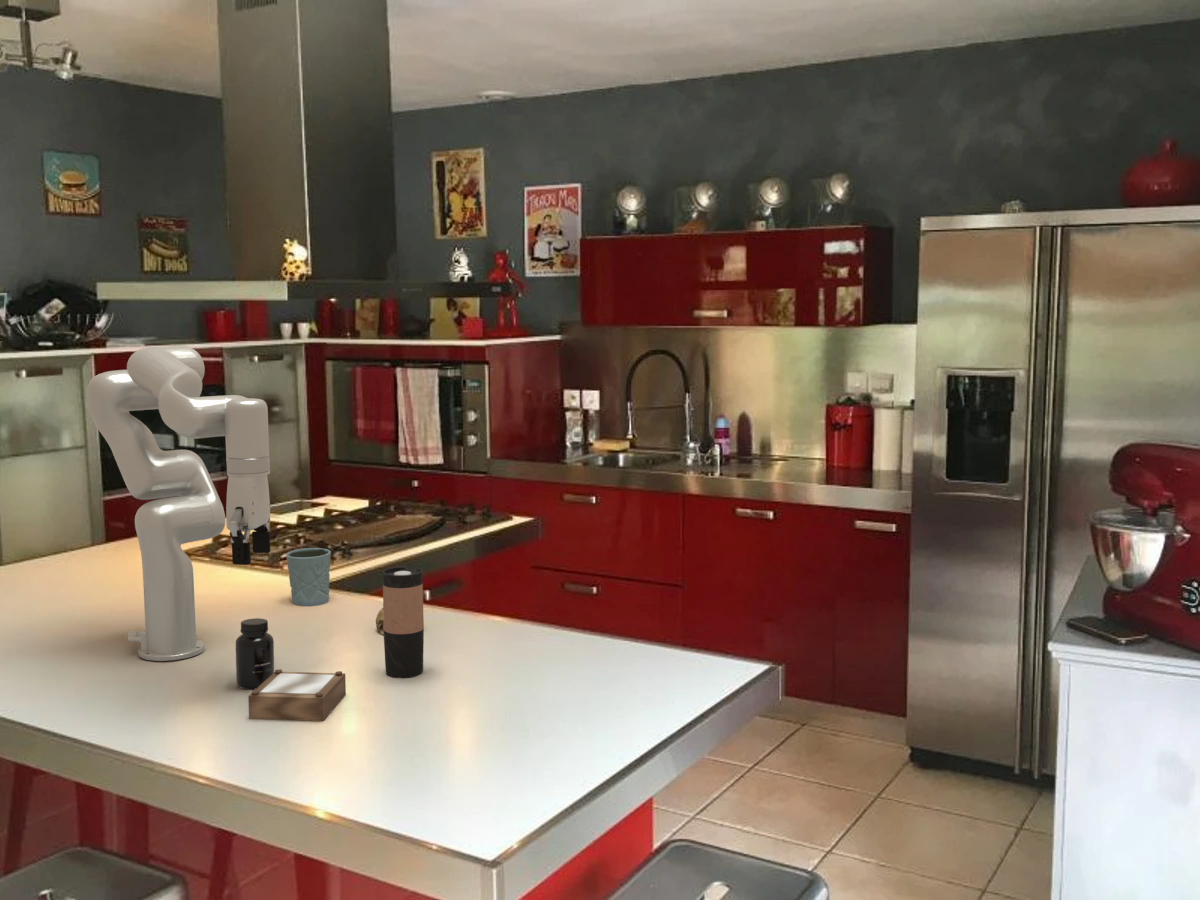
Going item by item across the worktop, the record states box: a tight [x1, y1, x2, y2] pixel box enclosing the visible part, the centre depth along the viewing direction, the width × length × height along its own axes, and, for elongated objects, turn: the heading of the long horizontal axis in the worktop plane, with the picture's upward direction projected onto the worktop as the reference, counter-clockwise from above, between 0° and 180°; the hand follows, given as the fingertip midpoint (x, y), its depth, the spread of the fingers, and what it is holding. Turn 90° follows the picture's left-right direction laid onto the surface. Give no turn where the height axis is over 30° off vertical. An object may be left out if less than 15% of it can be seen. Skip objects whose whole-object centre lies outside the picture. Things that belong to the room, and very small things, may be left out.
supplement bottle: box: [235, 617, 275, 690], centre depth 211 cm, size 7×7×12 cm
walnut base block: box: [247, 669, 347, 722], centre depth 200 cm, size 13×13×4 cm
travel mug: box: [382, 566, 425, 679], centre depth 218 cm, size 8×8×20 cm
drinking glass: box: [285, 547, 332, 607], centre depth 269 cm, size 10×10×12 cm
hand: (251, 558), depth 209 cm, fingers open, 9 cm apart
